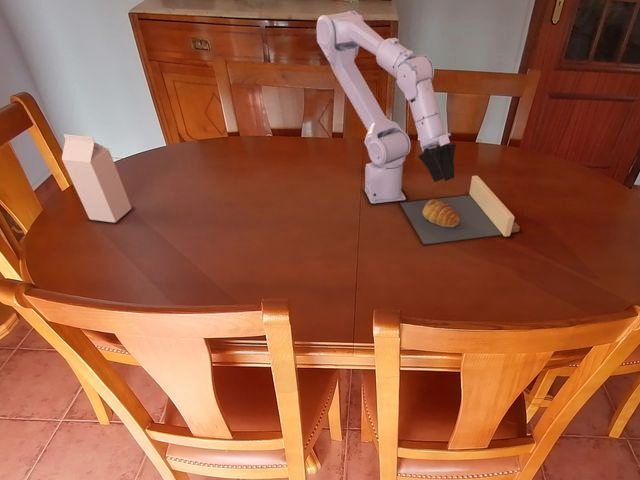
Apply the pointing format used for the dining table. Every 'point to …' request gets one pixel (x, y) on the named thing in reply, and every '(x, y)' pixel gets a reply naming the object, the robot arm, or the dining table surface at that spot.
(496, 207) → the back board
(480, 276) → the dining table surface
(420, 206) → the placemat
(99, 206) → the milk carton
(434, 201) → the pastry
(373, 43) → the robot arm
